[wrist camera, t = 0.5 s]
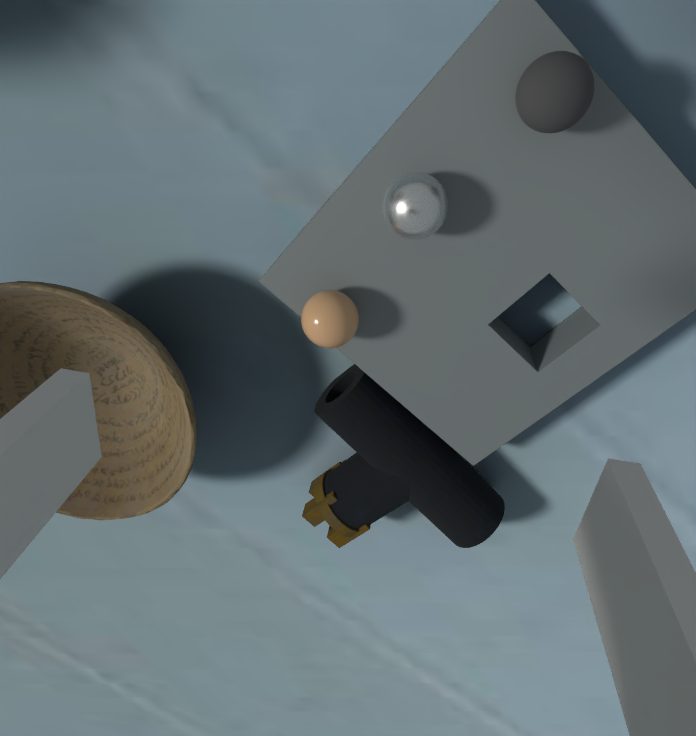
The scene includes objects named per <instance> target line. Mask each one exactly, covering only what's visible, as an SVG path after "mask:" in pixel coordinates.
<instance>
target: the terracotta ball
mask: <svg viewBox="0 0 696 736" xmlns="http://www.w3.org/2000/svg"><path fill="white" fill-rule="evenodd" d="M301 324H302V328H303V331H304V333H305V334H306V336H307V337H308V338H309V340H311V341H312V342H313V343H314V344H316V345H318V346H320V347H323V348H337V347H340V346H342V345H344V344H346V343H348V342H349V341H350V340H351V339H352V338H353V336H354V335H355V333H356V331H357V329H358V325H359V313H358V310H357V307H356V305H355V304H354V302H353V301H352V300H351V299H350V298H349V297H348V296H347V295H345V294H344V293H342V292H339V291H335V290H325V291H321V292H318V293H316V294H315V295H313V296H312V297H311V298H310V299H309V300H308V301H307V302H306V304H305V305H304V308H303V310H302V314H301Z"/></svg>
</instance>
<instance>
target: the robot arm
mask: <svg viewBox="0 0 696 736" xmlns="http://www.w3.org/2000/svg"><path fill="white" fill-rule="evenodd" d="M101 457H102V455H101V449H100V442H99V435H98V429H97V422H96V415H95V408H94V402H93V395H92V388H91V381H90V375H89V373H86V372H80V371H74V370H68V369H62V368H61V369H60V370H58V371H57V372H56V373H55V374H54V375H52V376H51V377H50V378H49V379H48V380H46V381H45V382H44V383H43V384H42V385H40V386H39V387H38V388H37V389H36V390H34V391H33V392H32V393H31V394H30V395H28V396H27V397H26V398H25V399H24V400H22V401H21V402H20V403H19V404H18V405H16V406H15V407H14V408H13V409H12V410H10V411H9V412H8V413H7V414H6V415H4V416H3V417H2V418H1V419H0V579H1V578H2V576H3V575H4V574H5V573H6V572H7V570H8V569H9V568H10V567H11V565H12V564H13V563H14V562H15V561H16V559H17V558H18V557H19V556H20V555H21V553H22V552H23V551H24V550H25V549H26V547H27V546H28V545H29V544H30V543H31V541H32V540H33V539H34V538H35V537H36V535H37V534H38V533H39V532H40V531H41V529H42V528H43V527H44V526H45V525H46V523H47V522H48V521H49V520H50V519H51V517H52V516H53V515H54V514H55V513H56V511H57V510H58V509H59V508H60V507H61V505H62V504H63V503H64V502H65V500H66V499H67V498H68V497H69V496H70V494H71V493H72V492H73V491H74V490H75V488H76V487H77V486H78V485H79V484H80V482H81V481H82V480H83V479H84V478H85V476H86V475H87V474H88V473H89V472H90V470H91V469H92V468H93V467H94V466H95V464H96V463H97V462H98V461H99V460H100V458H101ZM573 540H574V543H575V547H576V550H577V554H578V557H579V561H580V564H581V568H582V571H583V575H584V578H585V582H586V585H587V588H588V592H589V595H590V599H591V602H592V606H593V609H594V613H595V616H596V620H597V623H598V627H599V630H600V634H601V637H602V641H603V644H604V648H605V651H606V655H607V658H608V662H609V665H610V669H611V672H612V676H613V679H614V682H615V686H616V689H617V693H618V696H619V700H620V703H621V707H622V710H623V714H624V717H625V721H626V724H627V728H628V731H629V735H630V736H696V573H695V571H694V569H693V567H692V565H691V563H690V561H689V559H688V557H687V555H686V553H685V551H684V549H683V547H682V545H681V543H680V541H679V539H678V537H677V535H676V533H675V531H674V529H673V527H672V525H671V523H670V521H669V519H668V517H667V515H666V513H665V511H664V509H663V507H662V505H661V503H660V501H659V499H658V497H657V495H656V493H655V491H654V489H653V488H652V486H651V484H650V482H649V480H648V478H647V476H646V474H645V472H644V470H643V468H642V466H641V464H639V463H633V462H627V461H621V460H615V459H608V460H607V462H606V465H605V467H604V469H603V472H602V474H601V476H600V479H599V481H598V483H597V486H596V488H595V490H594V493H593V495H592V497H591V500H590V502H589V504H588V506H587V509H586V511H585V513H584V516H583V518H582V520H581V523H580V525H579V527H578V530H577V532H576V534H575V537H574V539H573Z"/></svg>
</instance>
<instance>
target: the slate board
mask: <svg viewBox="0 0 696 736" xmlns="http://www.w3.org/2000/svg"><path fill="white" fill-rule="evenodd" d="M553 51H568V52H572V53H575V54H577V55H579V56H580V57H581V58H583V59H584V60H585V58H584V57H583V56H582V55H581V54H580V53H579V51H578V50H577V49H576V48H575V47H574V46H573V44H572V43H571V42H570V41H569V40H568V38H567V37H566V36H565V35H564V34H563V33H562V31H561V30H560V29H559V28H558V27H557V26H556V24H555V23H554V22H553V21H552V20H551V18H550V17H549V16H548V15H547V14H546V13H545V11H544V10H543V9H542V8H541V7H540V6H539V4H538V3H537V2H536V1H535V0H500V1H499V2H498V4H497V5H496V6H495V7H494V8H493V9H492V11H491V12H490V13H489V14H488V15H487V16H486V18H485V19H484V20H483V21H482V22H481V23H480V24H479V26H478V27H477V28H476V29H475V30H474V31H473V33H472V34H471V35H470V36H469V37H468V38H467V40H466V41H465V42H464V43H463V44H462V45H461V47H460V48H459V49H458V50H457V51H456V52H455V53H454V55H453V56H452V57H451V58H450V59H449V60H448V62H447V63H446V64H445V65H444V66H443V67H442V69H441V70H440V71H439V72H438V73H437V74H436V76H435V77H434V78H433V79H432V80H431V81H430V82H429V84H428V85H427V86H426V87H425V88H424V89H423V91H422V92H421V93H420V94H419V95H418V96H417V98H416V99H415V100H414V101H413V102H412V103H411V105H410V106H409V107H408V108H407V109H406V110H405V111H404V113H403V114H402V115H401V116H400V117H399V118H398V120H397V121H396V122H395V123H394V124H393V125H392V127H391V128H390V129H389V130H388V131H387V132H386V134H385V135H384V136H383V137H382V138H381V139H380V140H379V142H378V143H377V144H376V145H375V146H374V147H373V149H372V150H371V151H370V152H369V153H368V154H367V156H366V157H365V158H364V159H363V160H362V161H361V163H360V164H359V165H358V166H357V167H356V168H355V169H354V171H353V172H352V173H351V174H350V175H349V176H348V178H347V179H346V180H345V181H344V182H343V183H342V185H341V186H340V187H339V188H338V189H337V190H336V192H335V193H334V194H333V195H332V196H331V197H330V198H329V200H328V201H327V202H326V203H325V204H324V205H323V207H322V208H321V209H320V210H319V211H318V212H317V214H316V215H315V216H314V217H313V218H312V219H311V221H310V222H309V223H308V224H307V225H306V226H305V227H304V229H303V230H302V231H301V232H300V233H299V234H298V236H297V237H296V238H295V239H294V240H293V241H292V243H291V244H290V245H289V246H288V247H287V248H286V250H285V251H284V252H283V253H282V254H281V255H280V256H279V258H278V259H277V260H276V261H275V262H274V263H273V265H272V266H271V267H270V268H269V270H268V271H267V272H266V273H265V274H264V276H263V277H262V278H261V279H260V280H259V282H260V283H261V284H263V285H264V286H265V287H266V288H267V289H268V290H269V291H271V292H272V293H273V294H274V295H275V296H276V297H278V298H279V299H280V300H281V301H282V302H283V303H285V304H286V305H287V306H288V307H289V308H290V309H292V310H293V311H294V312H295V313H296V314H297V315H299V316H300V317H301V314H302V310H303V308H304V305H305V304H306V302H307V301H308V300H309V299H310V298H311V297H312V296H313V295H315V294H316V293H318V292H321V291H325V290H335V291H339V292H342V293H344V294H345V295H347V296H348V297H349V298H350V299H351V300H352V301H353V302H354V304H355V305H356V307H357V310H358V313H359V325H358V329H357V331H356V333H355V335H354V336H353V338H352V339H351V340H350V341H349V342H348V343H346V344H344V345H342V346H340V347H337V349H338V350H339V351H340V352H342V353H343V354H344V355H345V356H346V357H347V358H349V359H350V360H351V361H352V362H353V363H354V364H355V365H357V366H358V367H359V368H360V369H361V370H362V371H364V372H365V373H366V374H367V375H368V376H369V377H371V378H372V379H373V380H374V381H375V382H376V383H378V384H379V385H380V386H381V387H382V388H383V389H385V390H386V391H387V392H388V393H389V394H390V395H392V396H393V397H394V398H395V399H396V400H397V401H398V402H400V403H401V404H402V405H403V406H404V407H405V408H407V409H408V410H409V411H410V412H411V413H412V414H414V415H415V416H416V417H417V418H418V419H419V420H421V421H422V422H423V423H424V424H425V425H426V426H428V427H429V428H430V429H431V430H432V431H433V432H435V433H436V434H437V435H438V436H439V437H440V438H441V439H443V440H444V441H445V442H446V443H447V444H448V445H450V446H451V447H452V448H453V449H454V450H455V451H457V452H458V453H459V454H460V455H461V456H462V457H464V458H465V459H466V460H467V461H468V462H469V463H471V464H472V465H473V466H474V465H475V464H477V463H478V462H480V461H481V460H483V459H484V458H485V457H487V456H488V455H490V454H491V453H492V452H494V451H495V450H497V449H498V448H500V447H501V446H502V445H504V444H505V443H507V442H508V441H510V440H511V439H512V438H514V437H515V436H517V435H518V434H520V433H521V432H522V431H524V430H525V429H527V428H528V427H529V426H531V425H532V424H534V423H535V422H537V421H538V420H539V419H541V418H542V417H544V416H545V415H547V414H548V413H549V412H551V411H552V410H554V409H555V408H556V407H558V406H559V405H561V404H562V403H564V402H565V401H566V400H568V399H569V398H571V397H572V396H574V395H575V394H576V393H578V392H579V391H581V390H582V389H584V388H585V387H586V386H588V385H589V384H591V383H592V382H593V381H595V380H596V379H598V378H599V377H601V376H602V375H603V374H605V373H606V372H608V371H609V370H611V369H612V368H613V367H615V366H616V365H618V364H619V363H621V362H622V361H623V360H625V359H626V358H628V357H629V356H630V355H632V354H633V353H635V352H636V351H638V350H639V349H640V348H642V347H643V346H645V345H646V344H648V343H649V342H650V341H652V340H653V339H655V338H656V337H658V336H659V335H660V334H662V333H663V332H665V331H666V330H667V329H669V328H670V327H672V326H673V325H675V324H676V323H677V322H679V321H680V320H682V319H683V318H685V317H686V316H687V315H689V314H690V313H692V312H693V311H695V310H696V189H695V188H694V187H693V186H692V184H691V183H690V182H689V181H688V180H687V178H686V177H685V176H684V175H683V174H682V173H681V171H680V170H679V169H678V168H677V167H676V166H675V164H674V163H673V162H672V161H671V160H670V158H669V157H668V156H667V155H666V154H665V153H664V151H663V150H662V149H661V148H660V147H659V146H658V144H657V143H656V142H655V141H654V140H653V138H652V137H651V136H650V135H649V134H648V133H647V131H646V130H645V129H644V128H643V127H642V126H641V124H640V123H639V122H638V121H637V120H636V118H635V117H634V116H633V115H632V114H631V113H630V111H629V110H628V109H627V108H626V107H625V106H624V104H623V103H622V102H621V101H620V100H619V98H618V97H617V96H616V95H615V94H614V93H613V91H612V90H611V89H610V88H609V87H608V86H607V84H606V83H605V82H604V81H603V80H602V78H601V77H600V76H599V75H598V74H597V73H596V71H595V70H594V69H593V68H592V67H591V66H590V64H589V63H588V62H587V61H586V60H585V61H586V62H587V64H588V65H589V67H590V69H591V71H592V74H593V77H594V86H595V87H594V95H593V99H592V102H591V104H590V106H589V108H588V110H587V112H586V113H585V114H584V116H583V117H582V118H581V119H580V120H579V121H578V122H577V123H576V124H574V125H573V126H571V127H570V128H568V129H566V130H564V131H561V132H557V133H541V132H538V131H535V130H533V129H531V128H530V127H528V126H527V125H526V124H525V123H524V122H523V121H522V119H521V117H520V116H519V113H518V111H517V107H516V101H515V98H516V89H517V85H518V82H519V80H520V78H521V76H522V74H523V73H524V71H525V70H526V68H527V67H528V66H529V65H530V64H531V63H532V62H533V61H535V60H536V59H537V58H539V57H541V56H542V55H544V54H547V53H550V52H553ZM411 172H421V173H426V174H428V175H430V176H432V177H434V178H435V179H436V180H438V181H439V182H440V184H441V185H442V186H443V188H444V190H445V192H446V195H447V199H448V211H447V216H446V218H445V221H444V223H443V224H442V226H441V227H440V228H439V229H438V230H437V231H436V232H435V233H434V234H432V235H431V236H429V237H427V238H425V239H421V240H407V239H403V238H401V237H399V236H397V235H396V234H394V233H393V232H392V231H391V230H390V229H389V227H388V226H387V224H386V222H385V220H384V217H383V213H382V202H383V197H384V194H385V192H386V190H387V188H388V187H389V186H390V184H391V183H392V182H393V181H394V180H395V179H397V178H398V177H400V176H402V175H404V174H406V173H411ZM549 273H550V274H551V275H552V276H553V277H554V278H555V279H556V280H557V281H558V282H559V283H560V284H561V285H562V286H563V287H564V288H565V289H566V290H567V291H568V292H569V293H570V294H571V295H572V296H573V298H574V299H575V300H576V301H577V302H578V303H579V304H580V305H581V306H582V307H581V308H579V309H578V310H577V311H575V312H574V313H573V314H572V315H570V316H569V317H568V318H566V319H565V320H564V321H563V322H561V323H560V324H559V325H558V326H556V327H555V328H554V329H552V330H551V331H550V332H549V333H547V334H546V335H545V336H543V337H542V338H541V339H540V340H538V341H537V342H536V343H534V344H533V345H532V346H531V347H529V346H528V345H527V344H526V343H525V342H524V341H523V340H522V339H521V338H520V337H519V336H518V335H517V334H516V333H515V332H514V331H513V330H512V329H511V328H510V327H509V326H508V325H507V324H505V323H504V322H503V321H502V320H501V319H500V318H499V317H498V316H499V315H500V314H501V313H502V312H504V311H505V310H506V309H507V308H508V307H510V306H511V305H512V304H513V303H514V302H516V301H517V300H518V299H519V298H520V297H521V296H523V295H524V294H525V293H526V292H527V291H529V290H530V289H531V288H532V287H533V286H535V285H536V284H537V283H538V282H539V281H541V280H542V279H543V278H544V277H545V276H547V275H548V274H549Z"/></svg>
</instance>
